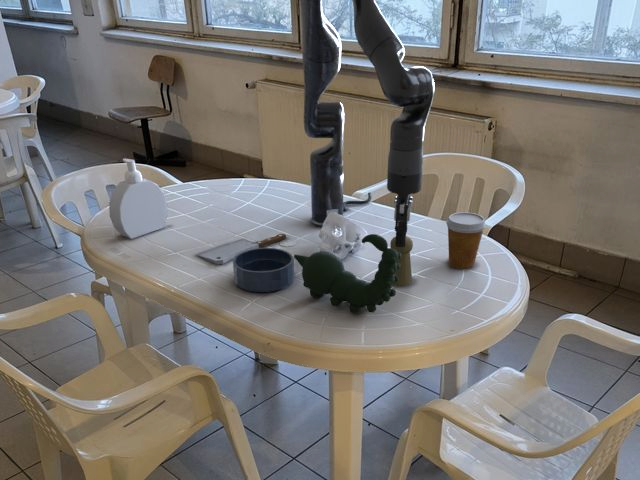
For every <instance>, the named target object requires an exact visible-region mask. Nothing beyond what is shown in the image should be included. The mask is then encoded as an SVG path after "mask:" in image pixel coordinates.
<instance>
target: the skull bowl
mask: <svg viewBox="0 0 640 480" xmlns="http://www.w3.org/2000/svg"><path fill="white" fill-rule="evenodd" d="M367 235H369V233H368V232H367V231H366V230H365V229H364V228H363V227H361V226H360V225H358V224H357V223H355V222H354V221H353V220H351V219H350V218H348V217H346V216H344V215H343V216H342V215H339V214H336V213H333V212H330V213H329V214H328V216H327V217H326V219H325V221H324V223H323V226H322V227H321V229H320V231H319V234H318V237H319V238H320V239H321V242H320V243H319V244H318V245H317V248H318V252H320V251H327V252H330V253H333V254H334V255H336V256H337V257H338V258H339V259H340V260H341V261H342V260H344V259H345V258H346V257H347V256H348V254H349V252H352V254H355V253H357V252H358V251H360V250H361V249H362V247H363V246H364V245H365V244H366V242H365V243H362V239H363V238H364V237H365V236H367ZM338 249H339V251H338ZM334 251H338V252H334Z"/></svg>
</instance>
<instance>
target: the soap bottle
mask: <svg viewBox="0 0 640 480" xmlns="http://www.w3.org/2000/svg"><path fill="white" fill-rule="evenodd" d="M122 161H123V163H125V164H126V167H127V170H126V172H125V173H124V180H123V181H119V183H118V184H117V185H116V187H115V188H114V189H113V190H112V192H111V195H110V200H109V202H108V212H109V218H110V221H111V223H112V226H113V229H115V231H117V233H118V234H119V235H120V236H122V237H125V238H128V239H130V240H134V239H136V238H139V237H142V236H145V235H147V234H150V233H153V232H156V231H159V230H161V229H164V228H165V226H166V223H167V220H168V216H169V214H168V212H169V210H168V209H169V208H168V207H169V205H168V201H167V198H166V195H165V192H164V190H162V188H161V187H160V186H159V184H158V183H157V184H156V183H155V182H153V181H151V180H149V179H146V178H143V176H142V173H141V171H140V170H137V167H136V161H135V159H131V158H123V159H122Z"/></svg>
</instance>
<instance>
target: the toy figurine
mask: <svg viewBox="0 0 640 480" xmlns="http://www.w3.org/2000/svg"><path fill="white" fill-rule="evenodd" d="M362 243H365V244H366V243H369V244H371V245H372V246H374V247H375V249H377V250H378V251H380V252H382V253H381V259H380V261H379V262H378V265H377V269H378V270H377V271H376V272H375V273H374V279H372V280H371V281H370V282H367V281H366V280H364V279H361V278H359V279H358V277H357V276H356V275H355V274H354V273H353V272H351V271H349V270H346V269H345V266H344V262H343V261H342V260H340V259H339V258H338V257H337V256H336V255H334V254H333V253H334V252H333V253H330V252H327V251H316V252H313V253H311V254H310V255H308V256H307V255H301V254H294V255H293V258H294V260H296V262H297V263H298V264H299V266H300V267H301V277H302V285H303V287H304V288H306V289H308V290H309V295H310V297H312V298H313V299H316V300H318V299H322V298H323V297H324V296H325V295H330V296H331V297H330V299H329V302H330V305H331V306H332V307H334V308H335V307H336V308H338V307H339V306H340V305H341V304H342V303H345V302H346V303H347V304H348V311H349V312H350V313H352V314H354V313H355V314H356V313H357V312H358V309H361V308H365V307H366V312H368V313H369V314H370V313H371V314H372V313H374V312H375V311H376V310H377V306H382V305H383V304H384V303H388V302H390V301H391V298H393V297H396V294H397V291H396V289H394V288H392V286H393V285H392V284H393V283H394V282H397V281H398V280H399V277H398V276H397V275H394V274H395V272H396V271H397V270H399V268H400V264H399V263H396V262H397V261H398V259H400V258H401V254H400V253H398V252H397V251H396V250H395V249H392V248H391V247H389V244H388V242H387V239H386V238H384V237H383V236H382V235H380V234H376V233H370V234H368V235H367V236H365V237H364V238H363V239H362ZM388 247H389V248H388Z"/></svg>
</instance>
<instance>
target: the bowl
mask: <svg viewBox="0 0 640 480" xmlns="http://www.w3.org/2000/svg"><path fill="white" fill-rule="evenodd" d="M232 267H233V278H234V284H235V285H236V286H237V287H238V288H241V289H243V290H245V291H249V292H255V293H270V292H271V293H272V292H276V291H279V290H283V289H284V288H287V287H288V286H290V285H291V284H292V283H294V280H295V278H296V275H295V273H296V271H295V258H294V255H293V254H292V253H291V252H290V251H287V250H284V249H282V248H276V247H260V248H256V249H251V250H247V251H244V252H241V253H239V254H238V255H236V256H235V257H234V258H233V259H232Z"/></svg>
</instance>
